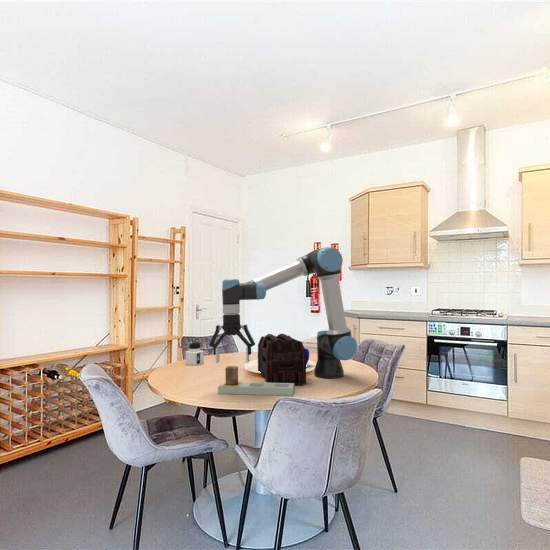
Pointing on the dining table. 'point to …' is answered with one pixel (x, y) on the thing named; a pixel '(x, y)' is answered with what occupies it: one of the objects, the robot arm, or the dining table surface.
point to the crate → (282, 359)
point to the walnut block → (231, 375)
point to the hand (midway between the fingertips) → (232, 362)
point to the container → (194, 354)
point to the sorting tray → (257, 388)
